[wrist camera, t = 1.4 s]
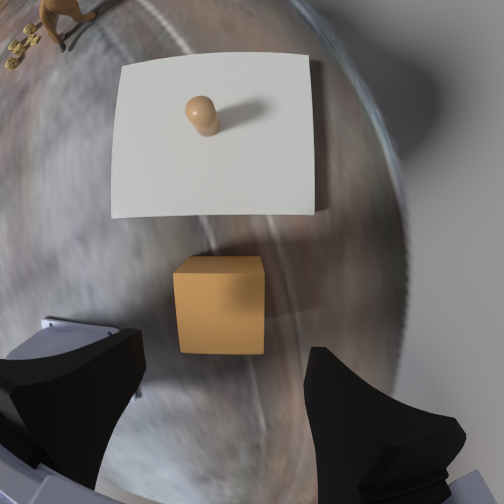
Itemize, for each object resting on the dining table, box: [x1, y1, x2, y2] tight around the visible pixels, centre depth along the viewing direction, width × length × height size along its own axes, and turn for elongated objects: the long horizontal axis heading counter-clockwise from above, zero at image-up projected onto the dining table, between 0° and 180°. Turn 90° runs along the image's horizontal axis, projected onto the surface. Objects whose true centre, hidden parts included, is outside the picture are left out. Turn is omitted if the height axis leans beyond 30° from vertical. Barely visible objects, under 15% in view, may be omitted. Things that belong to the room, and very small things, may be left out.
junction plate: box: [111, 52, 315, 218], centre depth 16 cm, size 14×12×5 cm
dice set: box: [5, 23, 40, 71], centre depth 15 cm, size 5×5×2 cm
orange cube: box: [173, 256, 265, 354], centre depth 18 cm, size 5×5×5 cm
